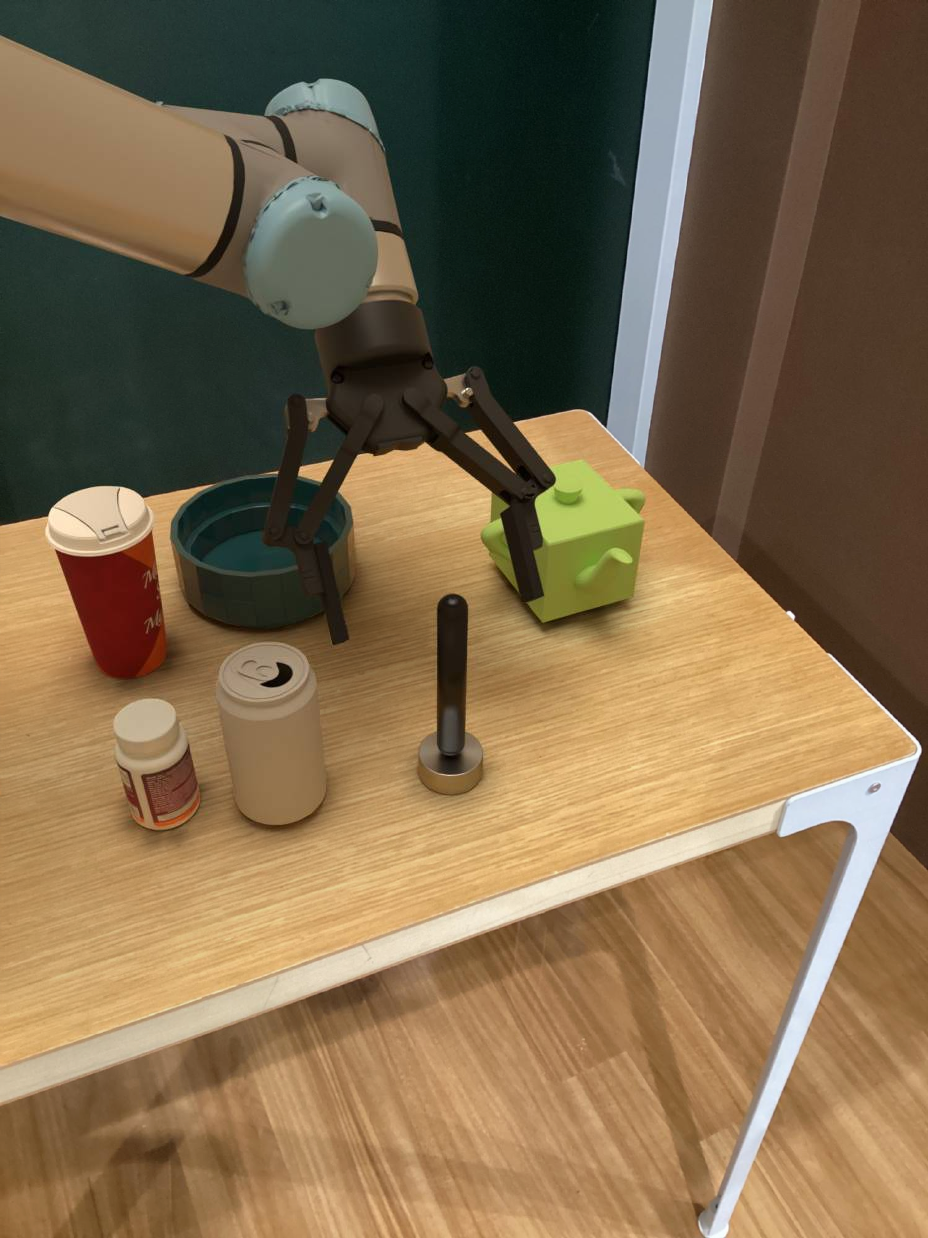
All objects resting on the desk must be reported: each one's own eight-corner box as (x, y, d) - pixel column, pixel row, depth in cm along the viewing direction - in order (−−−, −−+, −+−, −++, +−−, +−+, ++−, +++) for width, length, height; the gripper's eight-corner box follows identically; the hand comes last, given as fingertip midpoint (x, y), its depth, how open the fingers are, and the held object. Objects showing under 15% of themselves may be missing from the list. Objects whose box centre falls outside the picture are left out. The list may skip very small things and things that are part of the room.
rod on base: (423, 798, 75) (421, 623, 65) (414, 751, 78) (411, 577, 68) (487, 790, 76) (496, 616, 65) (476, 744, 79) (482, 571, 69)
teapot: (618, 655, 87) (633, 549, 80) (461, 623, 90) (462, 518, 83) (648, 550, 98) (663, 449, 91) (507, 525, 101) (512, 425, 94)
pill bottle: (211, 784, 76) (193, 698, 70) (185, 837, 72) (165, 750, 67) (147, 774, 76) (125, 689, 71) (119, 826, 72) (93, 740, 67)
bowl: (178, 642, 87) (167, 584, 83) (183, 536, 99) (173, 480, 95) (364, 623, 89) (361, 566, 86) (347, 522, 101) (344, 467, 97)
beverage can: (301, 843, 72) (286, 715, 64) (217, 816, 73) (192, 689, 66) (342, 776, 76) (332, 650, 69) (262, 752, 78) (244, 627, 70)
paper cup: (196, 665, 85) (168, 518, 76) (102, 701, 82) (61, 553, 73) (158, 613, 90) (128, 470, 81) (68, 645, 87) (26, 500, 78)
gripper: (519, 314, 80) (587, 590, 78) (181, 363, 73) (250, 666, 72) (552, 271, 72) (629, 574, 71) (181, 320, 66) (258, 657, 64)
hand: (439, 621), depth 71 cm, fingers open, 13 cm apart
